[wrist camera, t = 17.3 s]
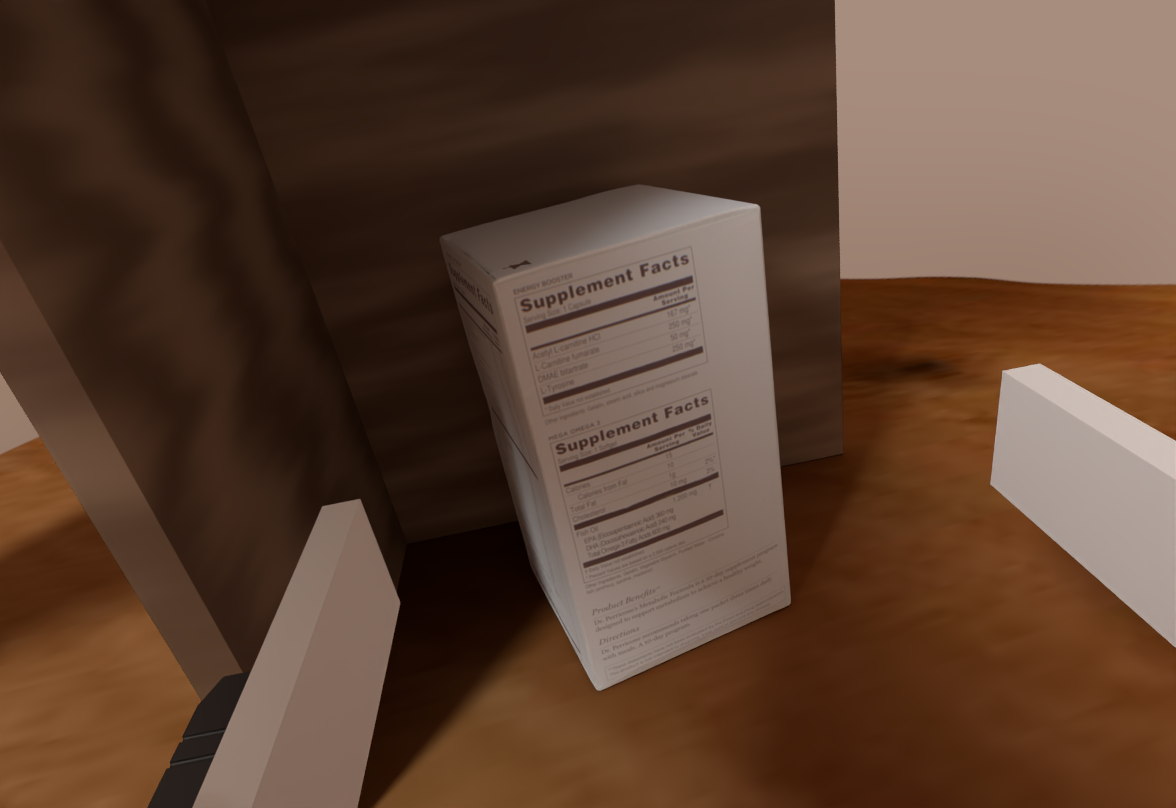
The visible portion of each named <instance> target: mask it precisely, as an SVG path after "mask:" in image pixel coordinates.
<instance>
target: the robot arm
mask: <svg viewBox="0 0 1176 808" xmlns="http://www.w3.org/2000/svg"><path fill="white" fill-rule="evenodd" d="M990 484H991V485H992V486H993V487H994V488H995V489H996V490H997V491H999V492H1000V493H1001V494H1002V495H1003V496H1004V497H1005V498H1007V499H1008V500H1009V501H1010V502H1011V503H1012V504H1013V505H1014V506H1016V507H1017V508H1018V509H1019V510H1020V511H1021V512H1022V513H1024V514H1025V515H1026V516H1027V517H1028V518H1029V519H1030V520H1031V521H1033V522H1034V523H1035V524H1036V525H1037V526H1038V527H1039V528H1041V529H1042V530H1043V531H1044V532H1045V533H1046V534H1047V535H1048V536H1050V537H1051V538H1052V539H1053V540H1054V541H1055V542H1056V543H1058V544H1059V545H1060V546H1061V547H1062V548H1063V549H1064V550H1065V551H1067V552H1068V553H1069V554H1070V555H1071V556H1072V557H1073V558H1075V559H1076V560H1077V561H1078V562H1079V563H1080V564H1081V565H1082V566H1084V567H1085V568H1086V569H1087V570H1088V571H1089V572H1090V573H1092V574H1093V575H1094V576H1095V577H1096V578H1097V579H1098V580H1099V581H1101V582H1102V583H1103V584H1104V585H1105V586H1106V587H1107V588H1109V589H1110V590H1111V591H1112V592H1113V593H1114V594H1115V595H1116V596H1118V597H1119V598H1120V599H1121V600H1122V601H1123V602H1124V603H1126V604H1127V605H1128V606H1129V607H1130V608H1131V609H1132V610H1133V611H1135V612H1136V613H1137V614H1138V615H1139V616H1140V617H1141V618H1142V619H1144V620H1145V621H1146V622H1147V623H1148V624H1149V625H1150V626H1152V627H1153V628H1154V629H1155V630H1156V631H1157V632H1158V633H1159V634H1161V635H1162V636H1163V637H1164V638H1165V639H1166V640H1167V641H1169V642H1170V643H1171V644H1172V645H1173V646H1174V647H1175V648H1176V441H1175V440H1173V439H1171V438H1169V437H1168V436H1166V435H1164V434H1162V433H1161V432H1159V431H1157V430H1155V429H1154V428H1152V427H1150V426H1148V425H1147V424H1145V423H1143V422H1141V421H1140V420H1138V419H1136V418H1134V417H1133V416H1131V415H1129V414H1127V413H1126V412H1124V411H1122V410H1120V409H1119V408H1117V407H1115V406H1113V405H1112V404H1110V403H1108V402H1106V401H1105V400H1103V399H1101V398H1099V397H1098V396H1096V395H1094V394H1092V393H1091V392H1089V391H1087V390H1085V389H1084V388H1082V387H1080V386H1078V385H1077V384H1075V383H1073V382H1071V381H1070V380H1068V379H1066V378H1064V377H1063V376H1061V375H1059V374H1057V373H1055V372H1054V371H1052V370H1050V369H1048V368H1047V367H1045V366H1043V365H1041V364H1035V365H1030V366H1025V367H1020V368H1015V369H1010V370H1005V371H1003V373H1002V382H1001V391H1000V400H999V410H998V419H997V428H996V437H995V446H994V456H993V465H992V474H991V483H990ZM399 607H400V600H399V598H398V595H397V593H396V590H395V587H394V585H393V582H392V580H391V577H390V575H389V572H388V569H387V567H386V564H385V562H384V559H383V556H382V554H381V551H380V549H379V546H378V544H377V541H376V538H375V536H374V533H373V531H372V528H371V525H370V523H369V520H368V518H367V515H366V513H365V510H364V507H363V505H362V502H361V500H360V499H357V500H352V501H347V502H342V503H337V504H332V505H327V506H322V508H321V511H320V513H319V515H318V518H317V520H316V522H315V525H314V527H313V529H312V531H311V534H310V536H309V538H308V541H307V543H306V545H305V548H304V550H303V552H302V555H301V557H300V559H299V562H298V564H297V566H296V569H295V571H294V573H293V576H292V578H291V580H290V582H289V585H288V587H287V589H286V592H285V594H284V596H283V599H282V601H281V603H280V606H279V608H278V610H277V613H276V615H275V617H274V620H273V622H272V624H271V626H270V629H269V631H268V633H267V636H266V638H265V640H264V643H263V645H262V647H261V650H260V652H259V654H258V657H257V659H256V661H255V664H254V666H253V668H252V671H249V672H244V673H239V674H234V675H229V676H224V677H223V678H222V679H221V680H220V681H219V682H218V683H217V684H216V685H215V687H214V688H213V689H212V690H211V691H210V692H209V693H208V695H207V696H206V697H205V698H204V699H203V700H202V701H201V702H200V704H199V705H198V706H197V708H196V710H195V712H194V714H193V716H192V718H191V720H190V722H189V724H188V726H187V728H186V730H185V732H184V734H183V736H182V737H183V742H180V743H179V745H178V747H177V749H176V751H175V753H174V755H173V757H172V759H171V761H170V768H168V769H166V771H165V773H164V775H163V777H162V779H161V781H160V783H159V785H158V787H157V789H156V791H155V793H154V795H153V797H152V799H151V801H150V804H149V806H148V808H357V807H358V802H359V798H360V793H361V788H362V783H363V779H364V774H365V769H366V764H367V759H368V755H369V750H370V745H371V740H372V736H373V731H374V726H375V721H376V717H377V712H378V707H379V702H380V697H381V693H382V688H383V683H384V678H385V674H386V669H387V664H388V659H389V655H390V650H391V645H392V640H393V636H394V631H395V626H396V621H397V616H398V612H399Z"/></svg>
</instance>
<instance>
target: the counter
mask: <svg viewBox="0 0 1176 808" xmlns="http://www.w3.org/2000/svg"><path fill="white" fill-rule="evenodd" d="M835 47H836V46H835V0H0V372H1V374H2V376H3V377H4V379H5V381H6V382H7V384H8V385H9V387H10V389H11V390H12V392H13V394H14V395H15V397H16V399H17V400H18V402H19V403H20V405H21V407H22V408H23V410H24V412H25V413H26V415H27V417H28V418H29V420H30V421H31V423H32V425H33V426H34V428H35V429H36V431H37V433H38V434H39V436H40V438H41V439H42V441H43V443H44V444H45V446H46V448H47V449H48V451H49V452H50V454H51V456H52V457H53V459H54V461H55V462H56V464H57V466H58V467H59V469H60V470H61V472H62V474H63V475H64V477H65V479H66V480H67V482H68V483H69V485H70V487H71V488H72V490H73V492H74V493H75V495H76V496H77V498H78V500H79V501H80V503H81V505H82V506H83V508H84V510H85V511H86V513H87V514H88V516H89V518H90V519H91V521H92V523H93V524H94V526H95V527H96V529H97V531H98V532H99V534H100V536H101V537H102V539H103V541H104V542H105V544H106V545H107V547H108V549H109V550H110V552H111V554H112V555H113V557H114V558H115V560H116V562H117V563H118V565H119V567H120V568H121V570H122V572H123V573H124V575H125V576H126V578H127V580H128V581H129V583H130V585H131V586H132V588H133V589H134V591H135V593H136V594H137V596H138V598H139V599H140V601H141V603H142V604H143V606H144V607H145V609H146V611H147V612H148V614H149V616H150V617H151V619H152V620H153V622H154V624H155V625H156V627H157V629H158V630H159V632H160V633H161V635H162V637H163V638H164V640H165V642H166V643H167V645H168V647H169V648H170V650H171V651H172V653H173V655H174V656H175V658H176V660H177V661H178V663H179V664H180V666H181V668H182V669H183V671H184V673H185V674H186V676H187V678H188V679H189V681H190V682H191V684H192V686H193V687H194V689H195V691H196V692H197V694H198V695H199V697H200V699H201V700H203V699H204V698H205V697H206V696H207V695H208V693H209V692H210V691H211V690H212V689H213V688H214V687H215V685H216V684H217V683H218V682H219V681H220V680H221V679H222V678H223V677H224V676H229V675H234V674H239V673H244V672H249V671H252V668H253V666H254V664H255V661H256V659H257V657H258V654H259V652H260V650H261V647H262V645H263V643H264V640H265V638H266V636H267V633H268V631H269V629H270V626H271V624H272V622H273V620H274V617H275V615H276V613H277V610H278V608H279V606H280V603H281V601H282V599H283V596H284V594H285V592H286V589H287V587H288V585H289V582H290V580H291V578H292V576H293V573H294V571H295V569H296V566H297V564H298V562H299V559H300V557H301V555H302V552H303V550H304V548H305V545H306V543H307V541H308V538H309V536H310V534H311V531H312V529H313V527H314V525H315V522H316V520H317V518H318V515H319V513H320V511H321V508H322V506H327V505H332V504H337V503H342V502H347V501H352V500H357V499H360V500H361V502H362V505H363V507H364V510H365V513H366V515H367V518H368V520H369V523H370V525H371V528H372V531H373V533H374V536H375V538H376V541H377V544H378V546H379V549H380V551H381V554H382V556H383V559H384V562H385V564H386V567H387V569H388V572H389V575H390V577H391V580H392V582H393V585H394V587H395V590H396V592H397V587H398V583H399V578H400V574H401V570H402V565H403V561H404V556H405V552H406V548H407V544H409V543H414V542H419V541H424V540H429V539H433V538H438V537H443V536H448V535H453V534H458V533H462V532H467V531H472V530H477V529H482V528H487V527H491V526H496V525H501V524H506V523H511V522H515V521H519V520H518V517H517V513H516V510H515V506H514V503H513V499H512V495H511V492H510V488H509V485H508V481H507V478H506V474H505V471H504V467H503V464H502V460H501V456H500V453H499V449H498V445H497V442H496V438H495V434H494V430H493V426H492V421H491V415H490V411H489V407H488V403H487V399H486V397H485V394H484V391H483V388H482V384H481V380H480V377H479V374H478V371H477V368H476V365H475V362H474V359H473V356H472V353H471V349H470V346H469V343H468V339H467V336H466V333H465V329H464V326H463V322H462V319H461V315H460V312H459V308H458V305H457V301H456V298H455V294H454V290H453V287H452V283H451V280H450V277H449V273H448V270H447V266H446V263H445V259H444V256H443V252H442V248H441V244H440V237H441V236H443V235H446V234H450V233H453V232H456V231H460V230H463V229H467V228H471V227H474V226H478V225H482V224H485V223H489V222H493V221H497V220H500V219H504V218H508V217H512V216H516V215H520V214H524V213H528V212H532V211H535V210H539V209H543V208H547V207H551V206H555V205H559V204H563V203H566V202H570V201H573V200H577V199H580V198H584V197H587V196H591V195H594V194H598V193H601V192H605V191H609V190H613V189H617V188H622V187H627V186H632V185H638V184H640V185H647V186H653V187H659V188H665V189H670V190H676V191H682V192H688V193H694V194H700V195H706V196H712V197H717V198H723V199H729V200H734V201H740V202H746V203H752V204H757V205H759V207H760V210H761V223H762V237H763V250H764V264H765V278H766V291H767V304H768V316H769V328H770V341H771V355H772V368H773V381H774V394H775V407H776V419H777V431H778V443H779V457H780V467H781V466H786V465H790V464H795V463H800V462H805V461H810V460H814V459H819V458H824V457H829V456H834V455H839V454H843V453H844V448H843V398H842V347H841V297H840V247H839V197H838V152H837V151H838V148H837V147H838V146H837V97H836V48H835Z"/></svg>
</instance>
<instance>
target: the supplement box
mask: <svg viewBox="0 0 1176 808" xmlns="http://www.w3.org/2000/svg"><path fill="white" fill-rule="evenodd" d="M440 244H441V248H442V252H443V256H444V259H445V263H446V266H447V270H448V273H449V277H450V280H451V283H452V287H453V290H454V294H455V298H456V301H457V305H458V308H459V312H460V315H461V319H462V322H463V326H464V329H465V333H466V336H467V339H468V343H469V346H470V349H471V353H472V356H473V359H474V362H475V365H476V368H477V371H478V374H479V377H480V380H481V384H482V388H483V391H484V394H485V397H486V399H487V403H488V407H489V411H490V415H491V421H492V426H493V430H494V434H495V438H496V442H497V445H498V449H499V453H500V456H501V460H502V464H503V467H504V471H505V474H506V478H507V481H508V485H509V488H510V492H511V495H512V499H513V503H514V506H515V510H516V513H517V517H518V520H519V524H520V528H521V531H522V535H523V539H524V542H525V546H526V550H527V554H528V558H529V562H530V565H531V568H532V570H533V572H534V574H535V576H536V578H537V580H538V582H539V584H540V586H541V588H542V590H543V592H544V594H545V596H546V597H547V599H548V601H549V603H550V605H551V607H552V608H553V610H554V612H555V614H556V616H557V617H558V619H559V621H560V623H561V625H562V627H563V629H564V631H565V633H566V634H567V636H568V638H569V640H570V642H571V644H572V646H573V648H574V650H575V652H576V653H577V655H578V657H579V659H580V661H581V663H582V665H583V667H584V669H585V671H586V673H587V675H588V676H589V678H590V680H591V682H592V683H593V685H594V687H595V688H596V690H599V691H601V690H603V689H606V688H608V687H610V686H612V685H615V684H617V683H619V682H621V681H623V680H626V679H628V678H630V677H632V676H634V675H637V674H639V673H641V672H643V671H645V670H647V669H650V668H652V667H654V666H656V665H658V664H661V663H663V662H665V661H667V660H669V659H672V658H674V657H676V656H678V655H680V654H682V653H685V652H687V651H689V650H691V649H693V648H696V647H698V646H700V645H702V644H704V643H706V642H709V641H711V640H713V639H715V638H717V637H720V636H722V635H724V634H726V633H728V632H731V631H733V630H735V629H737V628H739V627H742V626H744V625H746V624H748V623H750V622H753V621H755V620H757V619H759V618H761V617H764V616H766V615H768V614H770V613H772V612H774V611H777V610H779V609H781V608H784V607H786V606H788V605H790V603H791V595H790V582H789V569H788V557H787V544H786V531H785V519H784V506H783V494H782V481H781V469H780V457H779V443H778V431H777V419H776V407H775V394H774V381H773V368H772V355H771V341H770V328H769V316H768V304H767V291H766V278H765V264H764V250H763V237H762V223H761V210H760V207H759V205H757V204H752V203H746V202H740V201H734V200H729V199H723V198H717V197H712V196H706V195H700V194H694V193H688V192H682V191H676V190H670V189H665V188H659V187H653V186H647V185H640V184H638V185H632V186H627V187H622V188H617V189H613V190H609V191H605V192H601V193H598V194H594V195H591V196H587V197H584V198H580V199H577V200H573V201H570V202H566V203H563V204H559V205H555V206H551V207H547V208H543V209H539V210H535V211H532V212H528V213H524V214H520V215H516V216H512V217H508V218H504V219H500V220H497V221H493V222H489V223H485V224H482V225H478V226H474V227H471V228H467V229H463V230H460V231H456V232H453V233H450V234H446V235H443V236H441V237H440Z"/></svg>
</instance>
